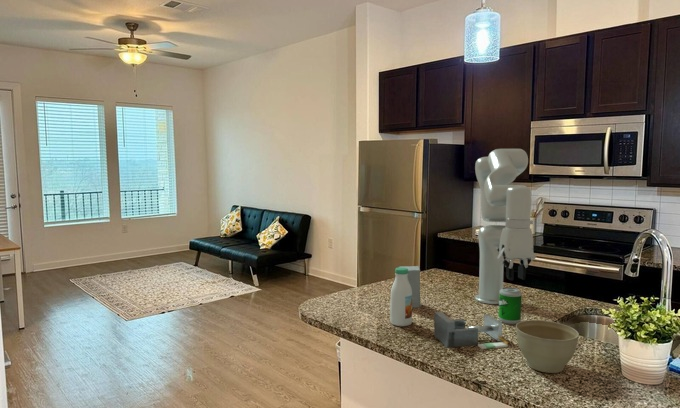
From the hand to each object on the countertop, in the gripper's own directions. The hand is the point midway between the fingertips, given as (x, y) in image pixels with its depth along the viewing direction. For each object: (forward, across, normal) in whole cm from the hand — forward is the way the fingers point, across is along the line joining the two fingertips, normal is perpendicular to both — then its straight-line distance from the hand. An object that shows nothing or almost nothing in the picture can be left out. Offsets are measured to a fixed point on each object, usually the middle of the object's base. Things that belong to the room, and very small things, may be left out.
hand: (515, 278), depth 152 cm
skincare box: (+19, +23, -37) cm, 48 cm away
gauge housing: (+19, +21, 0) cm, 29 cm away
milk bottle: (+19, +33, -19) cm, 43 cm away
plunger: (+19, +12, +2) cm, 22 cm away
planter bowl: (+19, +5, +23) cm, 31 cm away
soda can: (+19, -6, -12) cm, 24 cm away
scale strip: (+19, +12, +7) cm, 24 cm away
